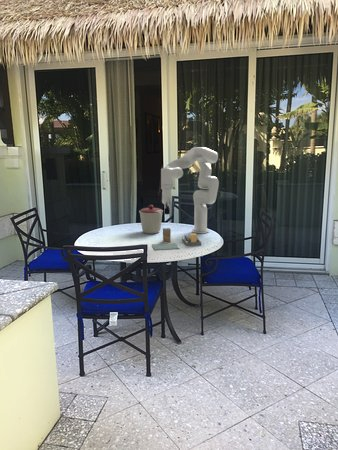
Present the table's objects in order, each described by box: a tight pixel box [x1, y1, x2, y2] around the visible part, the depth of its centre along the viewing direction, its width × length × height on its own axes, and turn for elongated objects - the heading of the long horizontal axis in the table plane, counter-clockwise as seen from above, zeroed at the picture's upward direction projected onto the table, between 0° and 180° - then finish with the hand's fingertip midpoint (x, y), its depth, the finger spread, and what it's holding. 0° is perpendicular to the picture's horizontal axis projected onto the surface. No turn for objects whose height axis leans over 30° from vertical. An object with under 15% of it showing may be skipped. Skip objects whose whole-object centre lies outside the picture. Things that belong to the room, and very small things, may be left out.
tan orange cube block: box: [189, 232, 198, 242], centre depth 238 cm, size 4×4×5 cm
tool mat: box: [151, 242, 180, 251], centre depth 233 cm, size 12×16×1 cm
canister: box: [138, 204, 164, 235], centre depth 271 cm, size 18×18×21 cm
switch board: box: [181, 235, 202, 247], centre depth 243 cm, size 14×10×4 cm
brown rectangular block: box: [162, 227, 172, 243], centre depth 245 cm, size 5×5×9 cm
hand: (167, 213), depth 242 cm, fingers closed
